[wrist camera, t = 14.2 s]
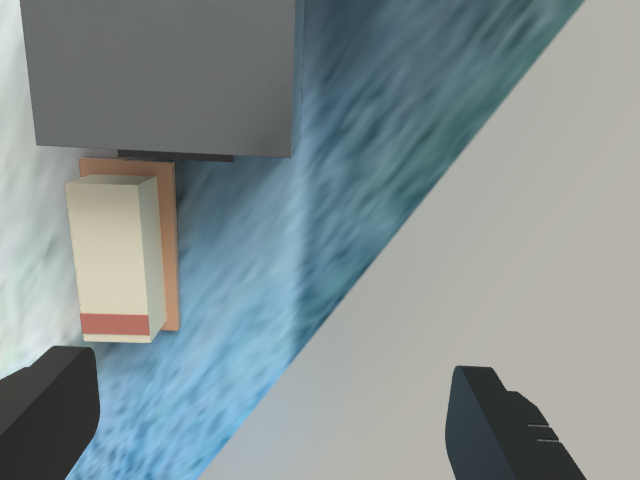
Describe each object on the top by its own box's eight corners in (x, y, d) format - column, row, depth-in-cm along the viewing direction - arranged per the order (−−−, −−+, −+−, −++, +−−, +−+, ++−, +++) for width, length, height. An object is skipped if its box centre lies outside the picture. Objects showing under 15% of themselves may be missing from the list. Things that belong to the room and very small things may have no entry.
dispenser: (100, -46, 33) (7, -104, 24) (306, -35, 34) (298, -89, 24) (113, 141, 37) (38, 157, 27) (299, 150, 37) (290, 170, 27)
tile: (83, 157, 37) (78, 158, 37) (174, 161, 37) (171, 163, 37) (98, 322, 41) (94, 326, 41) (180, 326, 41) (177, 330, 41)
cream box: (91, 174, 37) (63, 183, 33) (156, 175, 37) (136, 185, 33) (107, 318, 40) (83, 341, 36) (167, 319, 40) (150, 343, 36)
